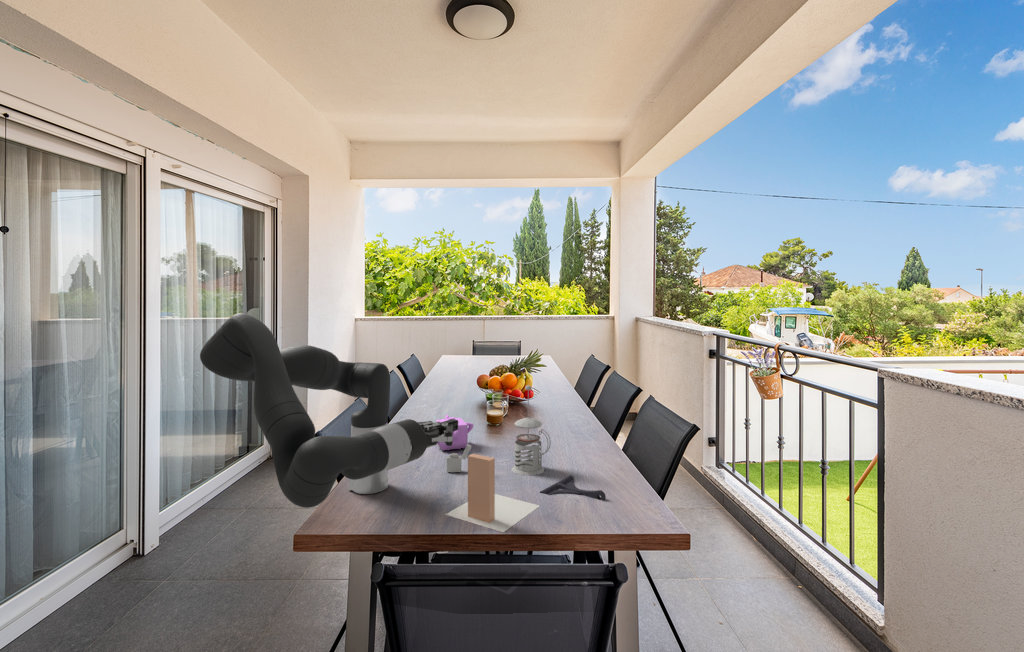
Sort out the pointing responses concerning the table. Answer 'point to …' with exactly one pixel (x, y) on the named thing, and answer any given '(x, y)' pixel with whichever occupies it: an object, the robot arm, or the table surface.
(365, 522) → the table surface
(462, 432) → the teapot
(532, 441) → the french press
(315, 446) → the robot arm
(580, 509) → the table surface
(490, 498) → the tile
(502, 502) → the mat
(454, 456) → the lighter
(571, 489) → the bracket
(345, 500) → the table surface
